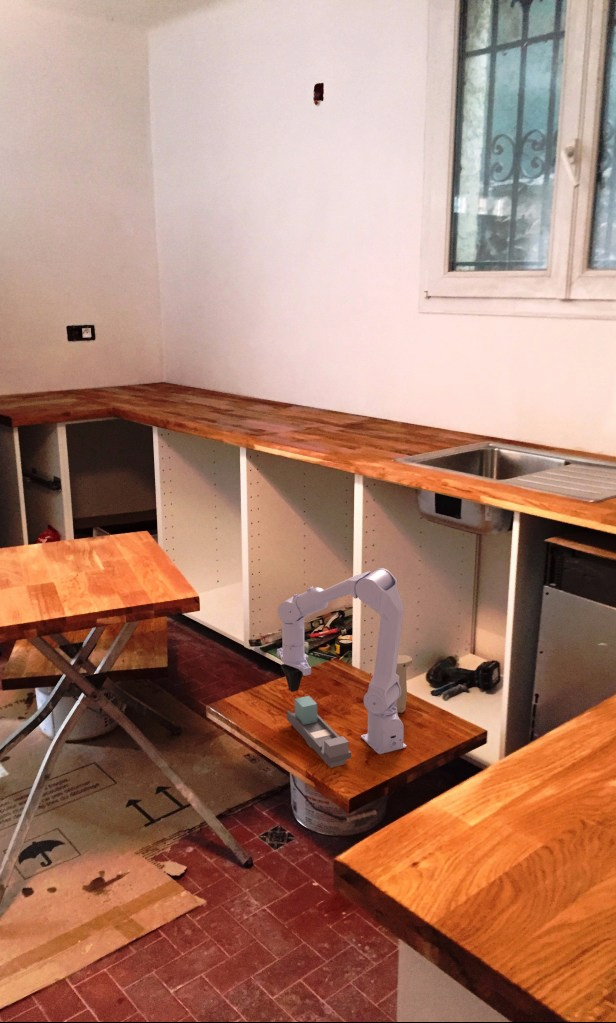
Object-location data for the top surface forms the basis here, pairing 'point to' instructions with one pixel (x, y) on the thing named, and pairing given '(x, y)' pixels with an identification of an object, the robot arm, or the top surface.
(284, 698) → the top surface
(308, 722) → the rider
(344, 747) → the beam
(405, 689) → the handle
